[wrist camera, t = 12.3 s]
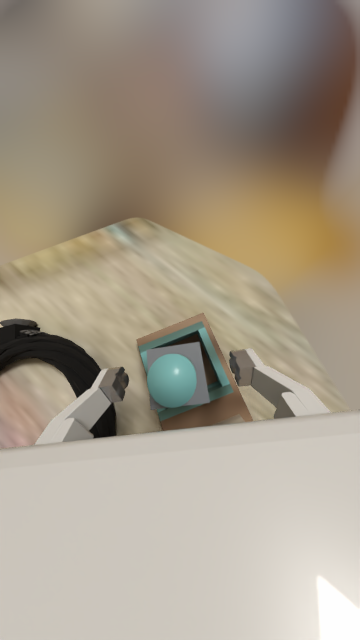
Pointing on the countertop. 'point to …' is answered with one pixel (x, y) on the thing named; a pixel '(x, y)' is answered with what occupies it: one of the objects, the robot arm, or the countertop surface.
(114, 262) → the countertop surface
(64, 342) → the cable lock
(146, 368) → the brown divided tray
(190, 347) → the knob
